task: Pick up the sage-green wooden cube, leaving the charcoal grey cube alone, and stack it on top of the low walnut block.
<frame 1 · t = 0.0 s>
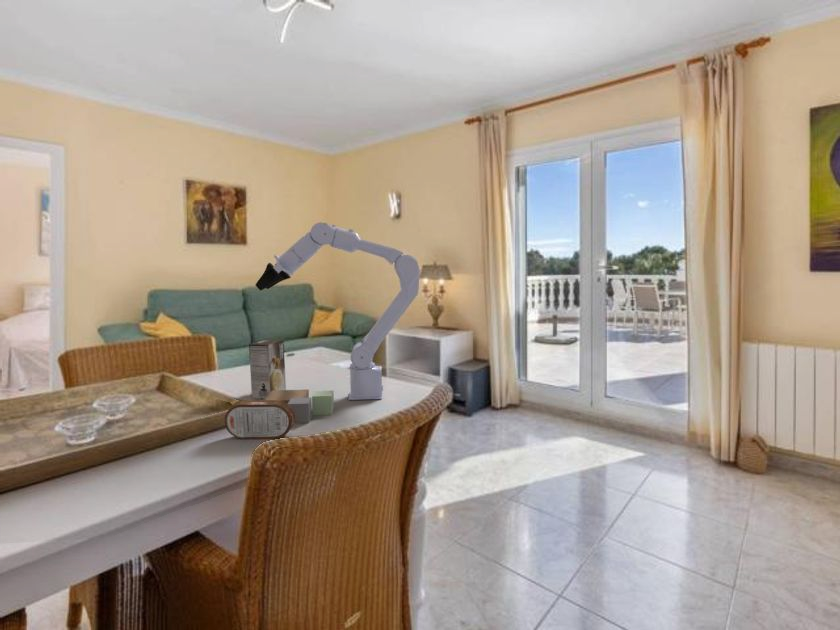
hand: (261, 287, 129), 32 cm above the table, tool tilted 50°, fingers open, 7 cm apart
coffee box: (269, 395, 137), on the table
walnut base: (287, 409, 124), on the table
green cube: (323, 411, 121), on the table
grey cube: (300, 420, 114), on the table
tin: (260, 438, 103), on the table
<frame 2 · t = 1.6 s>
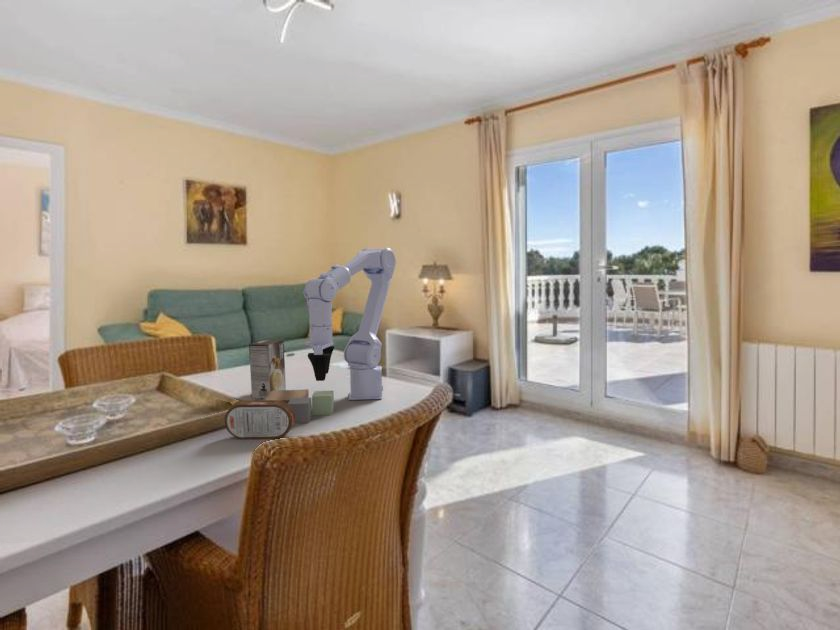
hand: (322, 376, 120), 9 cm above the table, tool pointing down, fingers open, 7 cm apart
nothing on the table moved.
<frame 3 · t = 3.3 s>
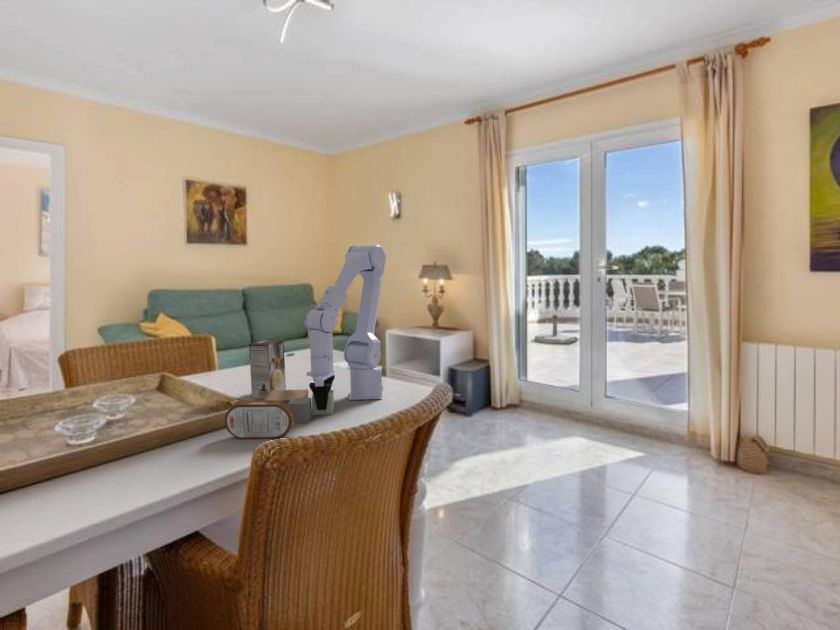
hand: (323, 406, 121), 1 cm above the table, tool pointing down, fingers closed on green cube, 5 cm apart
green cube: (323, 411, 121), on the table, touching gripper
everything else where it was.
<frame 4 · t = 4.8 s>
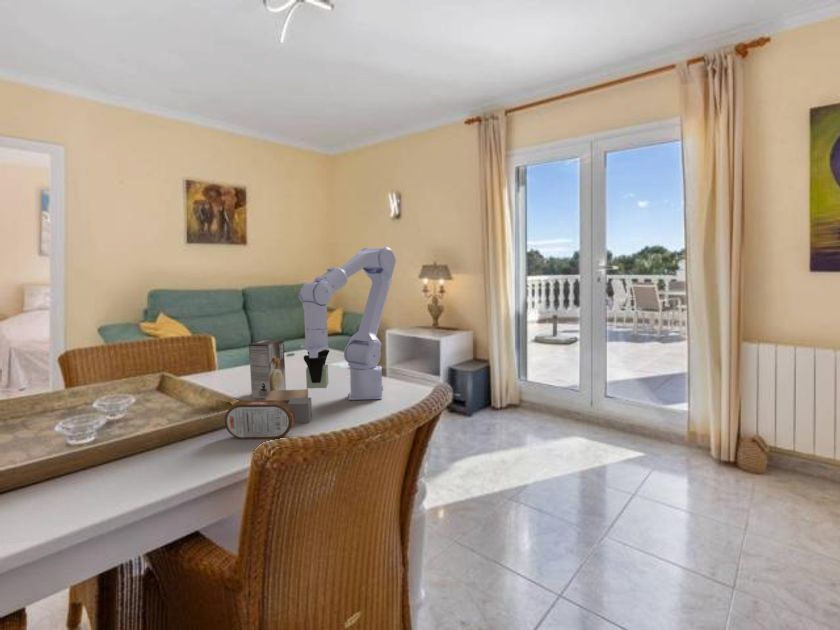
hand: (317, 379, 120), 8 cm above the table, tool pointing down, fingers closed on green cube, 5 cm apart
green cube: (317, 385, 120), point 7 cm above the table, touching gripper
everything else where it was.
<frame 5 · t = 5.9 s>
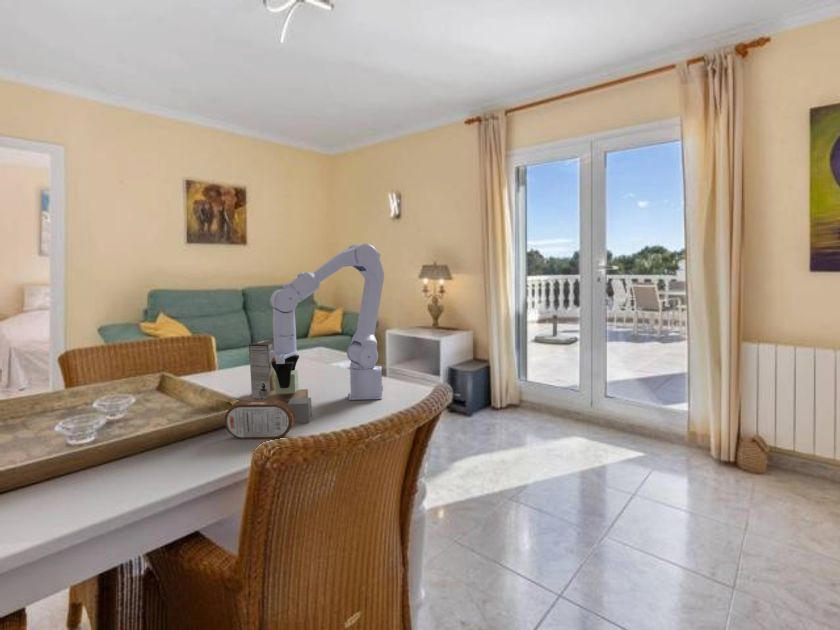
hand: (286, 384, 123), 6 cm above the table, tool pointing down, fingers closed on green cube, 5 cm apart
green cube: (287, 390, 123), point 5 cm above the table, touching gripper
everything else where it was.
when the fingers open (6 cm above the table, at t = 6.7 s): green cube drops 1 cm, resting on walnut base.
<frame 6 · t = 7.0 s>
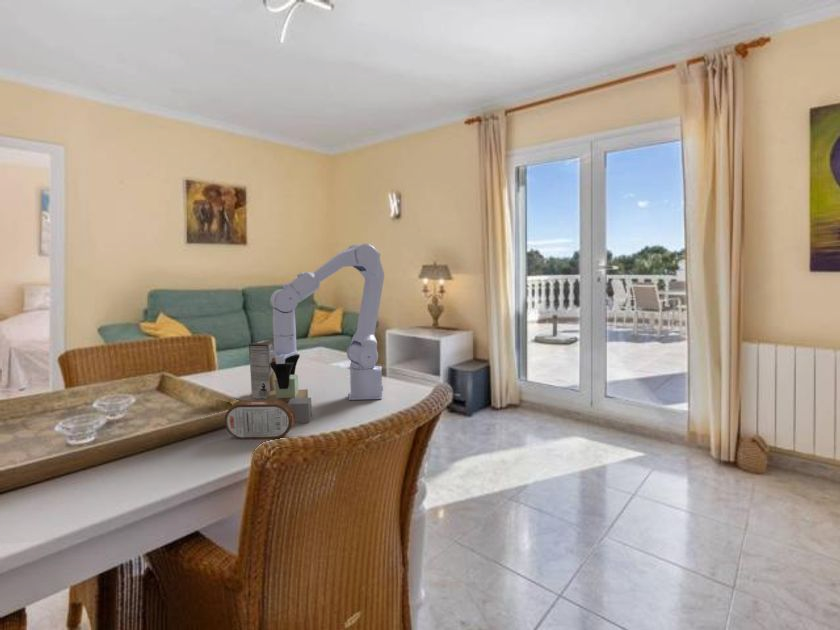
hand: (286, 384, 123), 6 cm above the table, tool pointing down, fingers open, 7 cm apart
walnut base: (287, 409, 124), on the table, touching green cube
green cube: (287, 395, 123), point 4 cm above the table, touching walnut base
everything else where it was.
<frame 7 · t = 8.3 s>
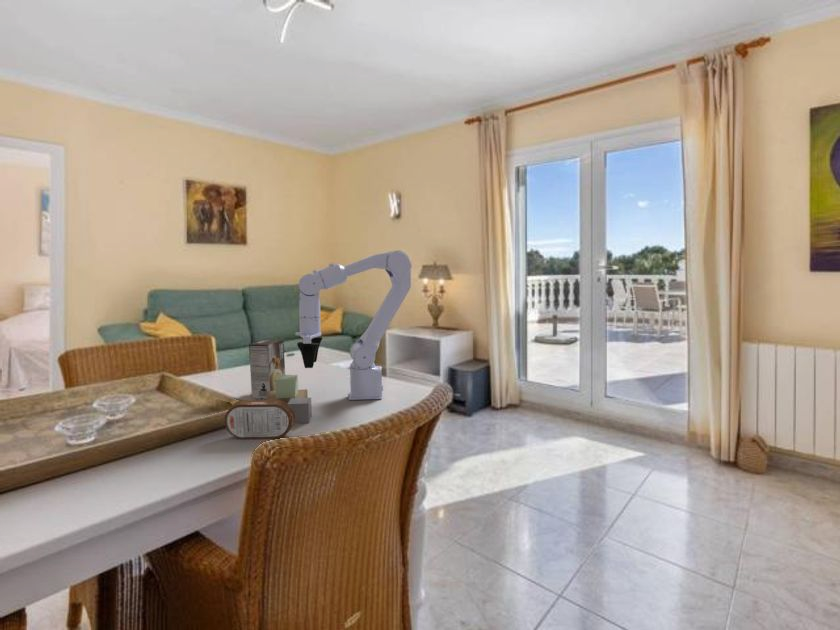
hand: (310, 364, 130), 10 cm above the table, tool pointing down, fingers open, 7 cm apart
nothing on the table moved.
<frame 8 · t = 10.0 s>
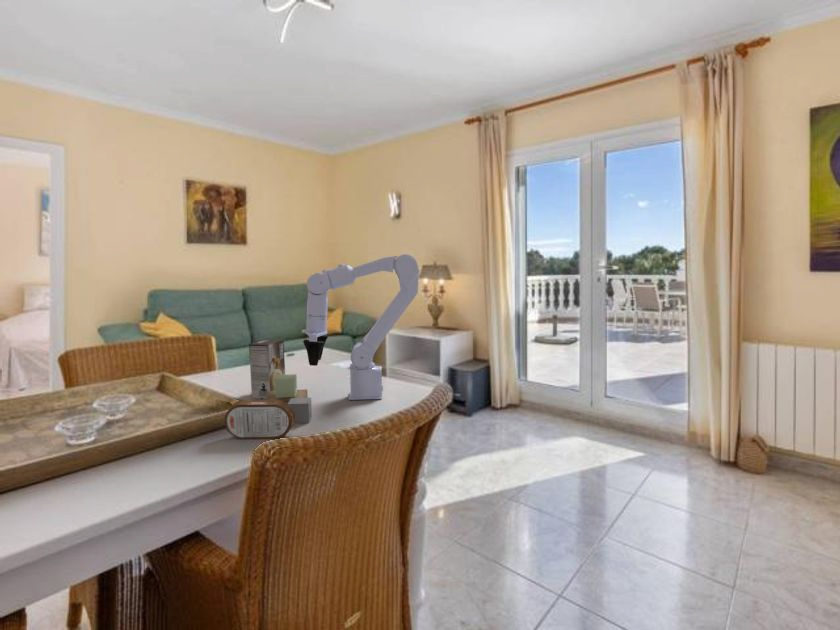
hand: (315, 362, 132), 10 cm above the table, tool pointing down, fingers open, 7 cm apart
walnut base: (287, 409, 124), on the table
green cube: (286, 394, 124), point 4 cm above the table
everything else where it was.
at the end: green cube 0.1 cm off-centre on the walnut base, point 4.1 cm above the walnut base's base; green cube tilted 1°; the gripper is holding nothing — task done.
